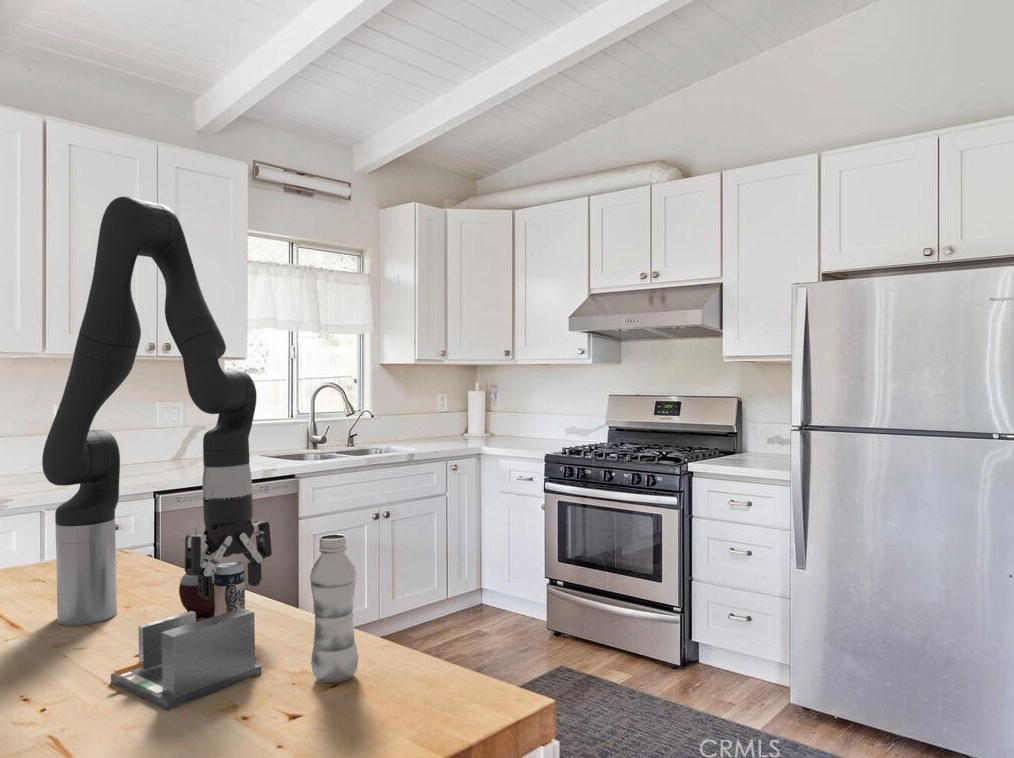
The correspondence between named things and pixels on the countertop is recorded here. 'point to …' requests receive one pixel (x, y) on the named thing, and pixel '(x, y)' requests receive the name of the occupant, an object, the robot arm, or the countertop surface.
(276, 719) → the countertop surface
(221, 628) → the gauge base
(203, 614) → the mate gourd
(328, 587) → the plastic bottle
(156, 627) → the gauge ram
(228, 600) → the beer can
